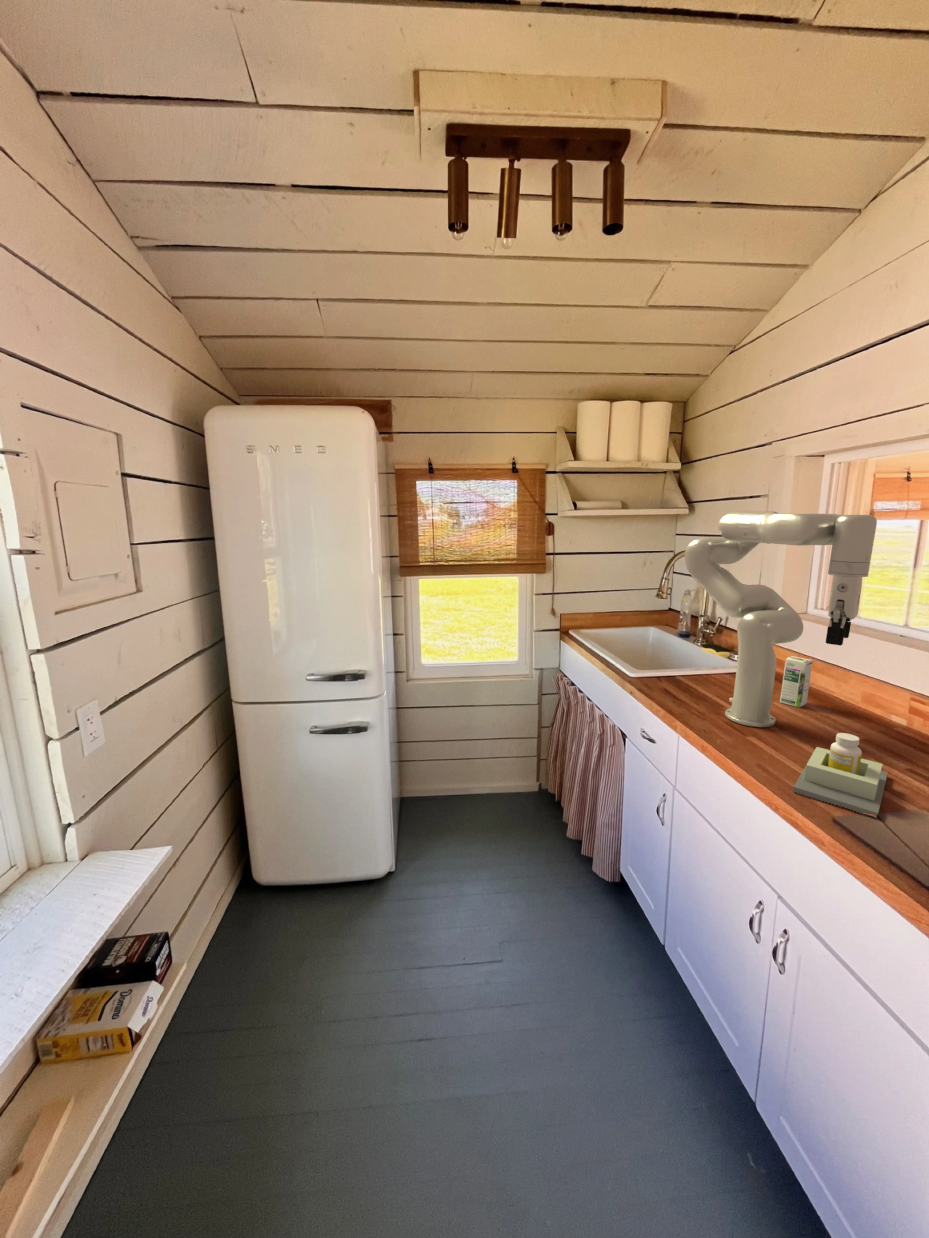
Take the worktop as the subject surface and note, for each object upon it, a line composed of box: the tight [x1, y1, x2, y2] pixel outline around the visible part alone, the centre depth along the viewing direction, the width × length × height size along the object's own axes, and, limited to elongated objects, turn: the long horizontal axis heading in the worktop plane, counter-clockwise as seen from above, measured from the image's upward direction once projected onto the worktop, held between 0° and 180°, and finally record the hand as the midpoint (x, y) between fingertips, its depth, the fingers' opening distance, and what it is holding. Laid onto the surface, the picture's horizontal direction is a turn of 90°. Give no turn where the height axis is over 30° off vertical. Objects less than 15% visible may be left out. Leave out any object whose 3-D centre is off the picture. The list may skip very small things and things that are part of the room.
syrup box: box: [779, 655, 814, 709], centre depth 157 cm, size 6×6×14 cm
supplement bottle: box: [828, 732, 863, 775], centre depth 110 cm, size 5×5×10 cm
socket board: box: [792, 746, 889, 816], centre depth 110 cm, size 22×14×5 cm, turn 137°
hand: (837, 640), depth 121 cm, fingers open, 9 cm apart
